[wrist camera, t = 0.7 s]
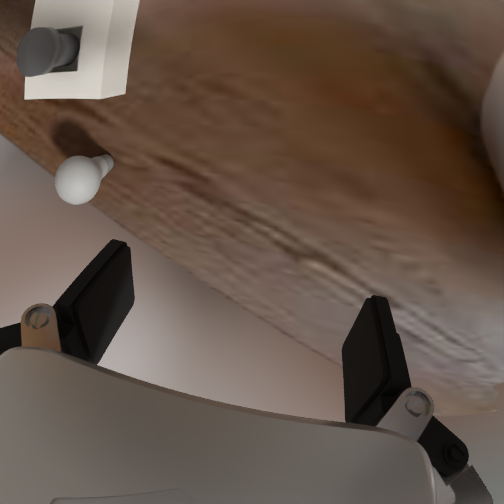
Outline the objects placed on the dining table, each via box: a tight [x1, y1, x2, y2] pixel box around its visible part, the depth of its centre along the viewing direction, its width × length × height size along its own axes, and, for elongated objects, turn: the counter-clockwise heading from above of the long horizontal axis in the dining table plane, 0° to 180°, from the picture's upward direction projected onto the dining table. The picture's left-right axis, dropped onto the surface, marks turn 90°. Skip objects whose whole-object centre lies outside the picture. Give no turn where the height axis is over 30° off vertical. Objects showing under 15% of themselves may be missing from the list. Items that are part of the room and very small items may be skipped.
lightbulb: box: [55, 154, 114, 204], centre depth 36 cm, size 6×6×11 cm
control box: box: [25, 0, 140, 99], centre depth 26 cm, size 26×14×6 cm, turn 169°
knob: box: [17, 27, 80, 77], centre depth 25 cm, size 6×6×6 cm
